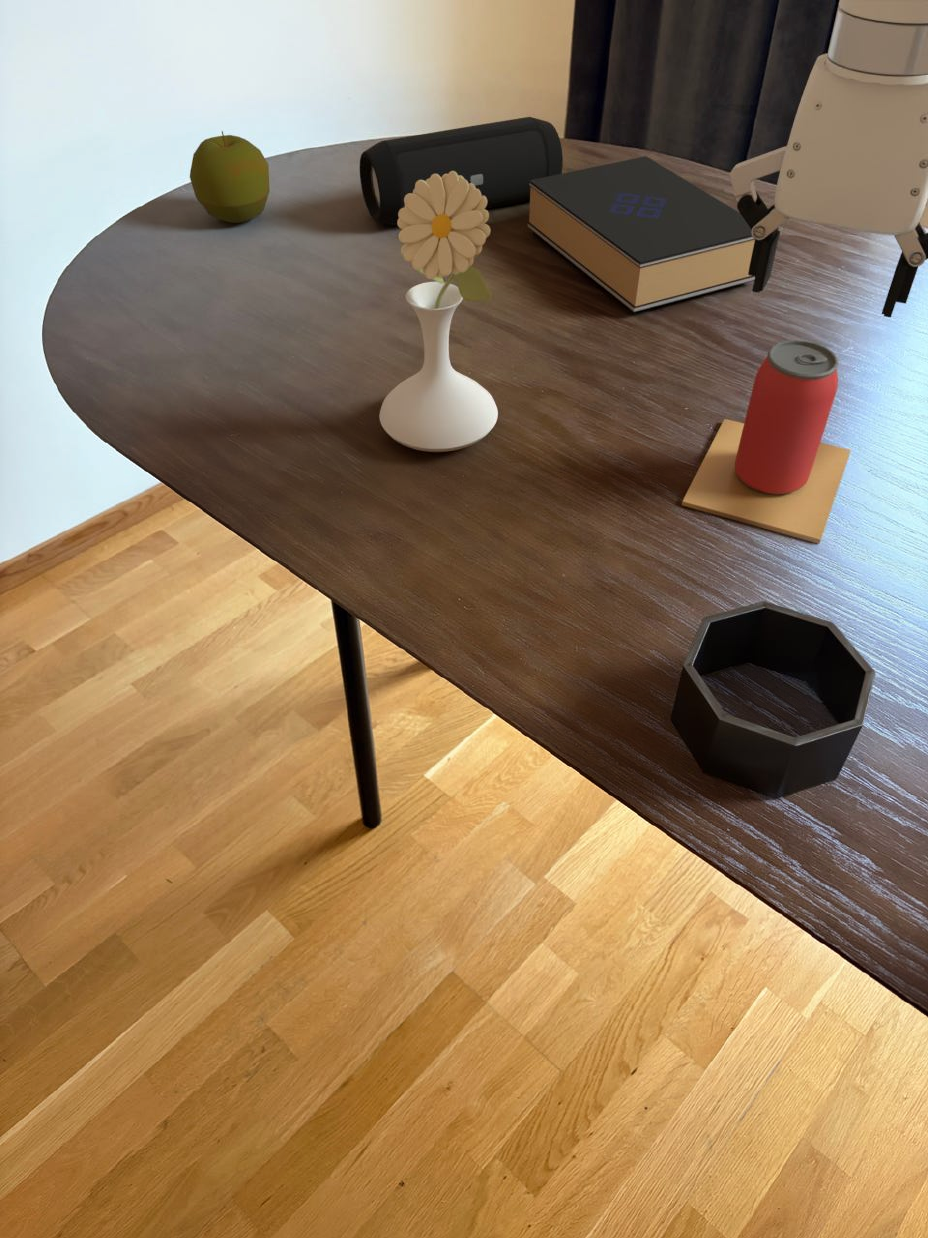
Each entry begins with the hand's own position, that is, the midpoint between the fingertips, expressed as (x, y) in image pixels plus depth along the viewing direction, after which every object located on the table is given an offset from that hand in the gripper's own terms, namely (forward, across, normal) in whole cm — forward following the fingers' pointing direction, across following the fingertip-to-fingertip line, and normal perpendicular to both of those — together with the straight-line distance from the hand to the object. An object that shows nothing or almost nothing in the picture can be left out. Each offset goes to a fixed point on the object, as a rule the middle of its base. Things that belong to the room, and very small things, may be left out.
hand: (823, 296), depth 72 cm
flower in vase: (+18, +31, +6) cm, 36 cm away
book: (+17, +26, -38) cm, 49 cm away
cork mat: (+18, +1, 0) cm, 18 cm away
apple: (+16, +78, -26) cm, 84 cm away
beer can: (+18, 0, 0) cm, 18 cm away
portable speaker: (+17, +52, -42) cm, 68 cm away
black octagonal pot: (+18, -5, +28) cm, 33 cm away
